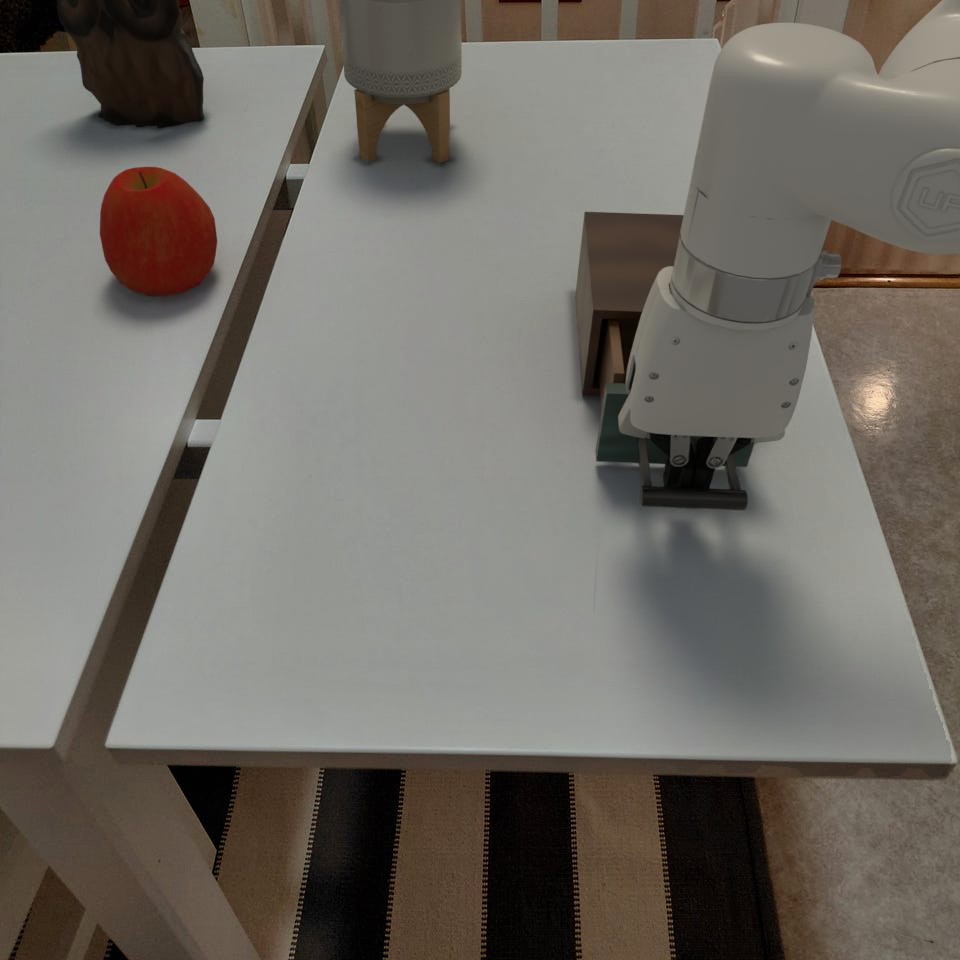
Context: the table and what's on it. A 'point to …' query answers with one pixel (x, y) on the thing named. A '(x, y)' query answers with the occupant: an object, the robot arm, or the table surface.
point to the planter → (402, 65)
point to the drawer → (643, 451)
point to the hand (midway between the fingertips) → (682, 493)
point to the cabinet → (618, 275)
